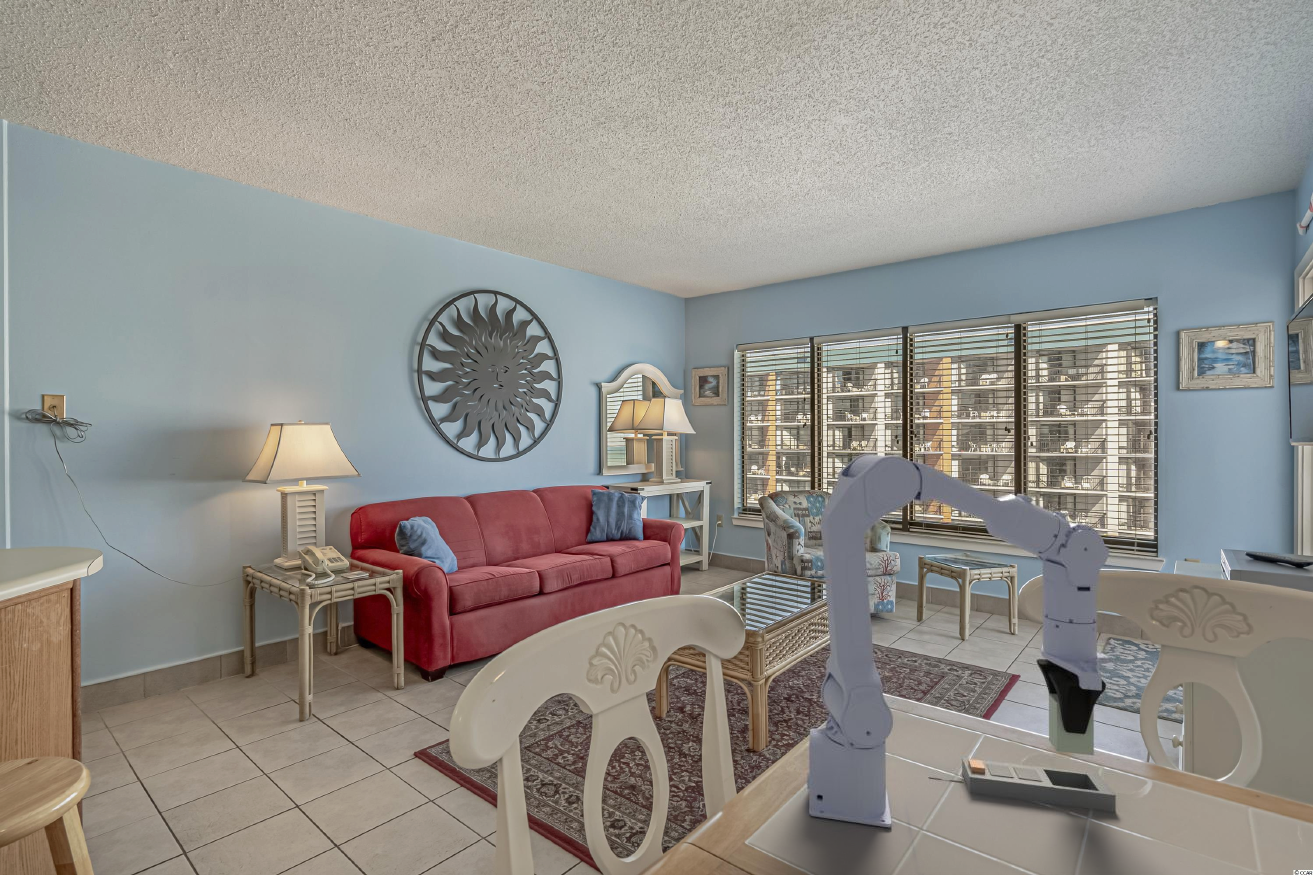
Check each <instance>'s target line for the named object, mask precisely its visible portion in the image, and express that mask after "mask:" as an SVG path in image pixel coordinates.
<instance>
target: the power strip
mask: <svg viewBox="0 0 1313 875" xmlns="http://www.w3.org/2000/svg"><path fill="white" fill-rule="evenodd" d="M961 767H962V769H961V773H962V776H963V777H962V778H963V779H964V781H965V784H966V786H967V790H968V791H969V792H968V793H969V794H975V795H981V796H989V797H998V798H1003V799H1004V798H1006V799H1012V800H1020V801H1026V802H1027V801H1028V802H1033V803H1034V802H1035V803H1042V804H1050V805H1059V806H1066V807H1071V808H1079V809H1088V810H1095V811H1103V812H1112V813H1116V811H1117V809H1116V808H1117V806H1116V805H1117V803H1116V802H1117V801H1116V800H1117V799H1116V797H1117V796H1116V794H1115V793H1114V791H1113V790H1112V789H1111V787H1110V786H1109V785H1108V783H1107V782H1106V781H1105V779H1104V778H1103V777H1102V776H1101V775H1100V773H1093V772H1083V771H1075V770H1068V769H1059V768H1051V767H1043V766H1035V765H1027V764H1026V765H1025V764H1017V763H1009V762H1002V761H1001V762H1000V761H992V760H985V759H978V758H977V759H975V758H967V757H966V758H965V757H961ZM928 779H929V780H936V781H945V782H951V783H960V784H964V782H963V781H962V780H954V779H953V780H952V779H946V778H937V777H930V776H929V777H928Z"/></svg>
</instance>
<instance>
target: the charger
mask: <svg viewBox="0 0 1313 875" xmlns="http://www.w3.org/2000/svg"><path fill="white" fill-rule="evenodd" d="M1094 708H1095V707H1094ZM1094 708H1093V711H1092V714H1091V717H1090V721H1089V724H1088V727H1087V730H1086V733H1085V734H1076V733H1068V732H1066V731H1065V729H1064V726H1063V722H1062V717H1061V710H1060V704H1059V699H1058V695H1057V694H1049V693H1048V741H1049V742H1050V744H1051V745H1052V747H1053V749H1055V751H1056V752H1061V753H1068V754H1069V753H1070V754H1078V755H1087V756H1095V753H1094V752H1095V743H1094V742H1095V739H1094V738H1095V737H1094V736H1095V734H1094V733H1095V731H1094V730H1095V729H1094V728H1095V727H1094V726H1095V719H1094V718H1095V717H1094V716H1095V715H1094V714H1095V713H1094V712H1095V711H1094Z"/></svg>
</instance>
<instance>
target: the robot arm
mask: <svg viewBox="0 0 1313 875" xmlns="http://www.w3.org/2000/svg"><path fill="white" fill-rule="evenodd" d="M1033 499H1034V498H1032V497H1031V496H1028V495H1026V494H1024V493H1023V494H1021V493H1017V494H1016V495H1015V494H1005V495H1002V496H1000V497H994V496H992V495H990V494H988V493H986V492H984V491H983V490H980V489H979V488H976V487H974V486H972V485H970V484H968V483H965V482H964V481H963V480H962V481H961V480H959V479H958V478H956V477H954V476H951V475H950V474H948V473H946V472H944V471H942V470H939V469H937V468H936V467H932V466H930V465H928V464H924V463H921V462H917V461H911V460H908V459H907V458H905V457H903V456H900V455H878V454H875V453H864V454H860V455H858V456H856V457H855V458H853V459H852V460H850V462H849V463H847V465H846V466H844V467H843V468H842V469H841V470H839V472H838V476H837V482H836V484H835V487H834V488H833V491H832V492H831V495H830V496H829V498H828V501H827V502H826V504H825V506H824V508H823V510H822V513H821V516H820V531H821V541H822V556H823V566H824V569H823V570H824V580H825V582H824V583H825V594H826V608H827V623H828V636H829V645H830V646H829V647H830V655H829V657H828V658H827V660H826V661H825V672H826V673H825V676H824V679H823V682H822V684H821V687H820V697H821V701H822V703H823V705H824V706H825V708H826V709H827V711H828V713H829V714H828V718H827V720H826V722H825V725H824V726H825V727H820V728H810V729H809V740H808V741H809V742H808V744H809V747H808V749H809V750H808V753H809V754H808V758H809V759H808V760H809V761H808V769H809V770H808V773H807V775H806V776H807V777H806V789H808V791H809V793H808V794H809V796H808V797H809V798H808V800H809V802H808V803H809V808H808V813H809V815H810V816H812V817H817V818H824V819H829V820H830V819H831V820H837V821H842V822H851V823H858V824H863V825H868V826H869V825H871V826H875V827H876V826H878V827H884V828H891V827H892V826H893V821H892V816H891V808H890V803H889V802H890V801H889V797H888V796H889V794H888V791H887V787H886V786H887V784H886V783H887V782H886V781H887V779H886V778H887V773H886V772H887V764H886V761H887V760H886V759H887V758H886V756H887V755H886V747H887V746H886V745H887V744H886V742H887V741H886V740H887V739H888V738H889V736H890V734H891V732H892V729H893V727H894V716H893V712H892V710H891V708H890V706H889V705H888V702H886V700H885V697H884V691H883V684H882V681H881V677H880V675H879V672H878V669H877V666H876V663H875V660H874V659H875V657H874V646H873V644H874V642H873V633H872V632H873V631H872V620H871V608H870V607H871V605H870V594H869V578H868V569H867V568H868V566H867V565H868V564H867V556H866V555H867V554H866V553H867V552H866V542H865V541H866V540H865V539H866V538H865V534H866V533H867V532H868V531H869V530H870V529H871V528H872V527H873V526H874V525H875V524H876V523H878V521H880V520H881V519H882V518H883V517H885V516H887V515H890V514H891V513H894V512H896V511H898V510H900V509H903V508H904V507H905V506H907V505H909V504H911V502H912V501H913V500H914V501H916V502H917V501H918V502H925V501H929V500H933V501H935V502H938V503H941V504H942V505H946V506H947V507H950V508H952V509H954V510H957V511H960V512H963V513H965V514H966V515H970V516H972V517H975V518H977V519H979V520H982V521H983V523H984V526H985V528H986V530H987V532H988V533H989V535H990V536H992V537H994V538H995V539H996V538H997V539H999V540H1001V541H1003V542H1006V543H1007V544H1010V545H1011V546H1012V545H1013V546H1014V547H1017V548H1019V549H1021V550H1024V551H1026V552H1027V553H1030V554H1033V555H1034V556H1036V558H1037V559H1039V560H1040V561H1041V562H1042V645H1041V649H1040V655H1041V656H1042V657H1043V658H1038V659H1036V664H1037V666H1038V668H1039V670H1040V671H1041V674H1042V676H1043V678H1044V681H1045V683H1046V687H1047V691H1048V695H1049V694H1057V695H1058V699H1059V704H1060V710H1061V717H1062V722H1063V726H1064V729H1065V731H1066V732H1068V733H1076V734H1085V733H1086V730H1087V727H1088V724H1089V721H1090V717H1091V714H1092V711H1093V708H1095V706H1096V703H1097V701H1098V700H1099V698H1100V697H1101V695H1103V693H1104V692H1105V691H1106V688H1107V683H1106V682H1105V681H1104V680H1103V679H1102V678H1103V677H1102V676H1103V674H1102V673H1101V672H1100V669H1099V668H1100V664H1108V663H1109V657H1108V656H1107V655H1106V654H1104V653H1102V652H1098V631H1097V630H1098V627H1097V626H1098V606H1097V605H1098V604H1097V603H1098V602H1097V601H1098V596H1097V594H1098V591H1097V590H1098V587H1097V586H1098V582H1100V572H1101V569H1102V567H1104V565H1105V564H1106V563H1107V560H1108V558H1109V555H1110V548H1109V547H1107V546H1106V545H1105V542H1104V539H1103V537H1102V535H1100V532H1099V531H1098V530H1096V529H1095V528H1094V527H1092V526H1089V525H1085V524H1081V523H1076V522H1070V521H1069V520H1068V519H1067V514H1065V513H1064V512H1062V511H1057V510H1054V511H1053V512H1051V511H1050V510H1047V509H1045V508H1043V507H1041V506H1039V505H1036V504H1035V503H1032V502H1033Z"/></svg>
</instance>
